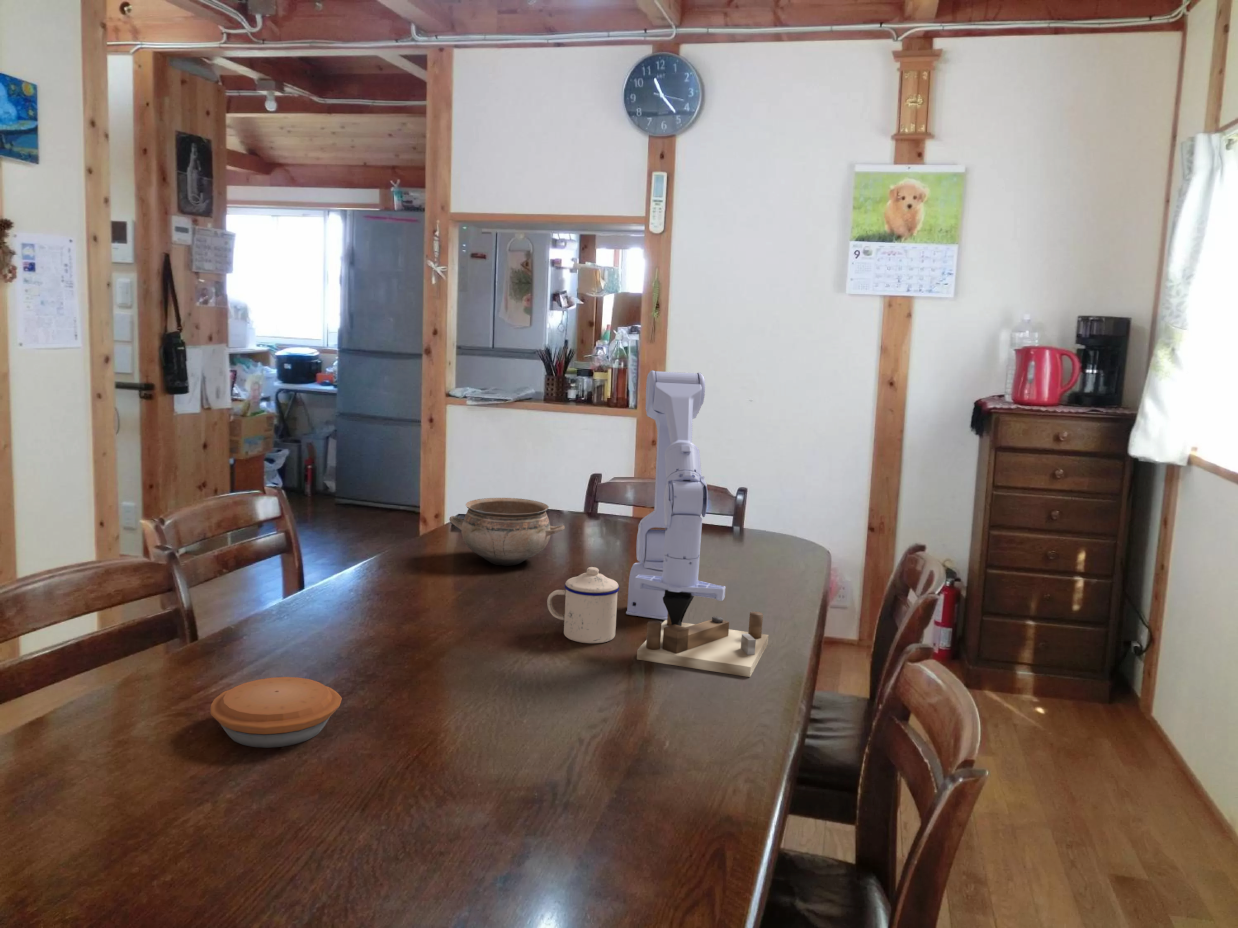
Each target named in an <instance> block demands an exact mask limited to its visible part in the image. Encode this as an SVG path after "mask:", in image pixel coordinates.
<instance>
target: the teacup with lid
mask: <svg viewBox="0 0 1238 928" xmlns="http://www.w3.org/2000/svg"><path fill="white" fill-rule="evenodd" d="M599 571H600V569H599V568H598V567H595V566H594V567H593V566H590V567H588V568H587V569H586V572H584V573H581V574H579V575H578V576H573V577H571V578H568V579H567V580H566V581H565V584H564V588H565V589H556V590H554V591H552V592H551V593H549V595H548V596H547V600H546V601H547V602H546V604H547V609H548V611H549V613H550V614H551V615H552V616H553V617H554V618H556V619H558V620H561V621H564V622H563V625H564V626H563V635H564V636H565V637H566V638H567V639H568V640H571V641H573V642H577V643H583V644H603V643H606V642H610V641H612V640H613V639H614V638H615V637H616V627H617V608H618V592H619V591H620V586H619V583H618V582H617V581H616V580H614V579H613V578H609V577H607V576H605V575H604V574H602V573H599ZM557 595H559V596H565V597H564V600H565V601H564V603H565V604H564V614H561V613H559V612H557V611H556V609H555V608H554V605H553V598H554V597H555V596H557Z"/></svg>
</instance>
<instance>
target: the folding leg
mask: <svg viewBox="0 0 1238 928" xmlns="http://www.w3.org/2000/svg"><path fill="white" fill-rule="evenodd" d="M729 629H730V621H727V620H724V618H723V617H721V616H718V615H717V616H712V617H711V619H708V620H705V621H702V622H699V623H695V625H692V626H689V627H682V626H679V625H676V624H674V625H671V626H668V627H664V632H663V648H662V649H664V650H667V651H670V652H673V653H676V654H677V653H680V652H683V651H686V650H689V649H691V648H694V647H697V646H700V645H703V644H706V643H709V642H712V641H715V640H718V639H721V638H724V637H727V636H728V633H729Z"/></svg>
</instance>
